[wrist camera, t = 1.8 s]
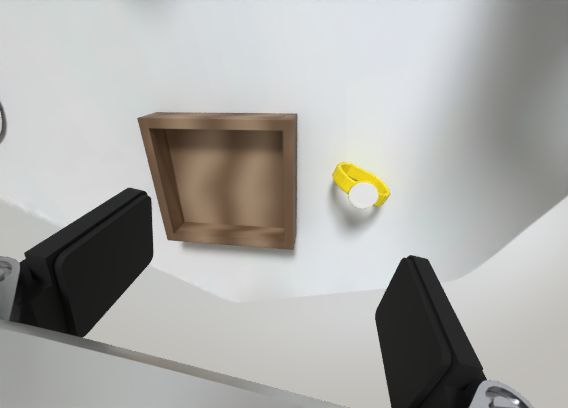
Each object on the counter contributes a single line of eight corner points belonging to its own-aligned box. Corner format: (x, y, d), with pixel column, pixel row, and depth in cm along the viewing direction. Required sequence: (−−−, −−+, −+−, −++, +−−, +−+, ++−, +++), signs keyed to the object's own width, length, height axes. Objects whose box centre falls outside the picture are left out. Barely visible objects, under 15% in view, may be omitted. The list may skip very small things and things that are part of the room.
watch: (330, 172, 32) (326, 192, 27) (342, 151, 31) (340, 168, 26) (376, 196, 32) (381, 220, 27) (390, 176, 31) (398, 198, 26)
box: (297, 113, 29) (293, 120, 26) (296, 233, 36) (293, 249, 33) (156, 112, 32) (137, 118, 29) (180, 225, 39) (167, 240, 35)
